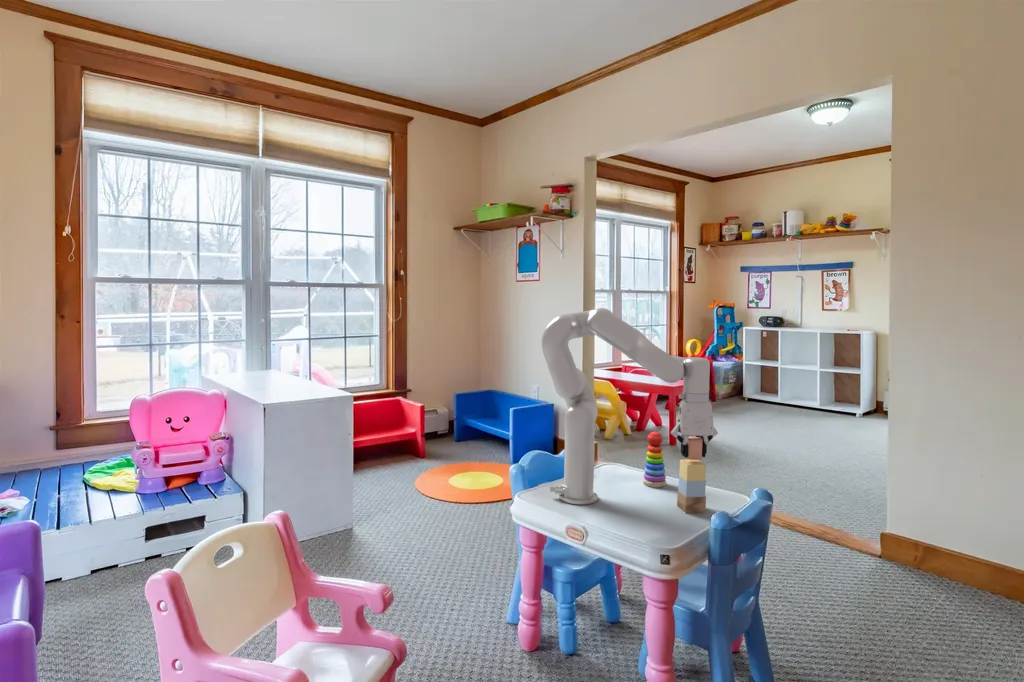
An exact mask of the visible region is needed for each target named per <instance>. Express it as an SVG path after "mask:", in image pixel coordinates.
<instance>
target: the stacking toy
mask: <svg viewBox="0 0 1024 682" xmlns="http://www.w3.org/2000/svg"><path fill="white" fill-rule="evenodd" d="M647 442H648V444H649V445H648V446H647V450H648V451H647V452H646V457H645V465H644V466H645V468H644V474H643V480H642V482H643V485H645V486H647V487H649V486H651V487H650V488H663V487H665V486H666V485H667V481H666V478H667V477H666V474H665V473H666V469H665V463H664V457H663V456H664V453H663V446H662V445H661V444H662V443H663V435H662V434H661V433H660V432H659V431H651V432H650V433H649V434H648V435H647Z"/></svg>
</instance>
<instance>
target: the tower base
mask: <svg viewBox="0 0 1024 682" xmlns="http://www.w3.org/2000/svg"><path fill="white" fill-rule="evenodd" d="M676 496H677V500H676V502H677V503H676V507H677V508H679V509H680V510H681V512H683V513H684V512H685V513H684V514H706V508H707V507H706V506H707V504H706V503H707V497H706V496H705V497H685V496H684V495H683V494H682V493H681V492H679V490H677V495H676Z"/></svg>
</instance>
